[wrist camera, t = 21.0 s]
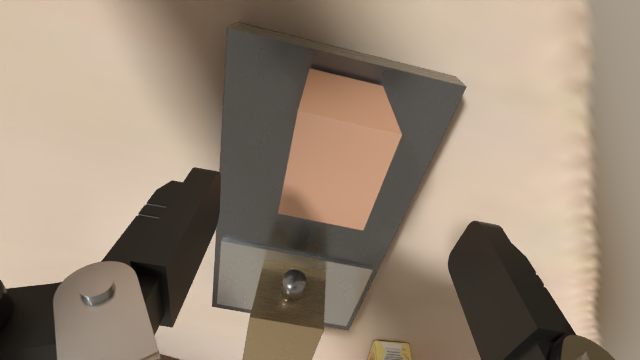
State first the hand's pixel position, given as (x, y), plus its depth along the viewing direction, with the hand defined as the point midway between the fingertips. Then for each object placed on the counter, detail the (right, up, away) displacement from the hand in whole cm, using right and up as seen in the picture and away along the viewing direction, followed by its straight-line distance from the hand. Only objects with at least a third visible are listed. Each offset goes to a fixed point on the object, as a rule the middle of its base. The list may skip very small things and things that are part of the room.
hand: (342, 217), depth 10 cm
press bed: (-2, -1, +15) cm, 15 cm away
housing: (-3, -8, +17) cm, 19 cm away
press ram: (0, +5, +8) cm, 9 cm away
